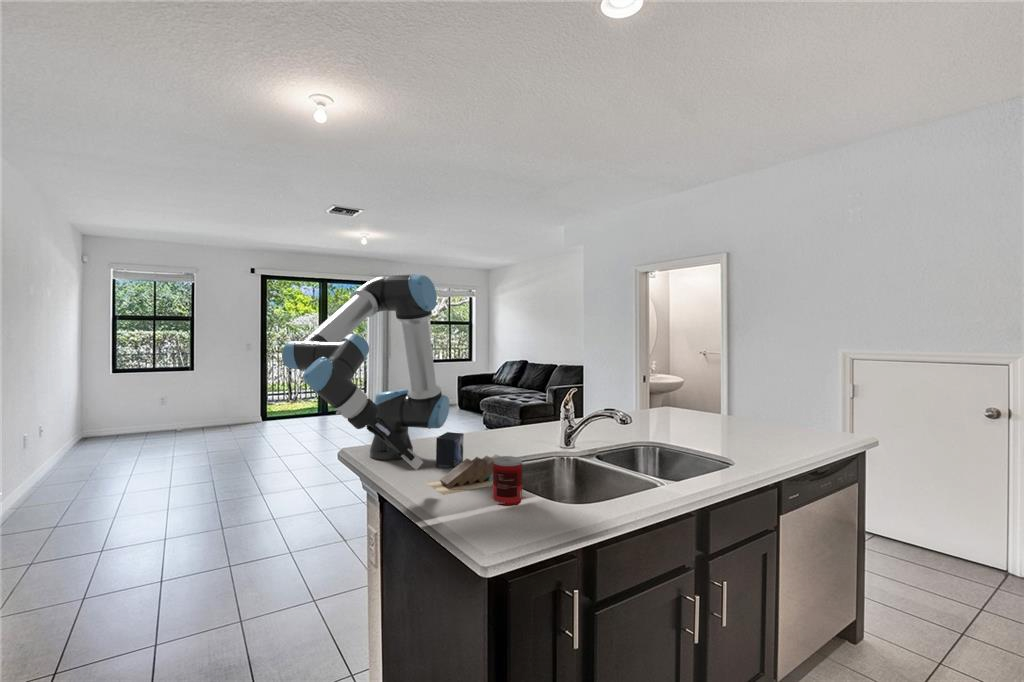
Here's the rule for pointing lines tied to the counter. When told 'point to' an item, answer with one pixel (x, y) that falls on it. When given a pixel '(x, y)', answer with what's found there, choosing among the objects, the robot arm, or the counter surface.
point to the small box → (449, 450)
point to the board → (456, 488)
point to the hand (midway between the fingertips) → (418, 465)
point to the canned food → (507, 480)
